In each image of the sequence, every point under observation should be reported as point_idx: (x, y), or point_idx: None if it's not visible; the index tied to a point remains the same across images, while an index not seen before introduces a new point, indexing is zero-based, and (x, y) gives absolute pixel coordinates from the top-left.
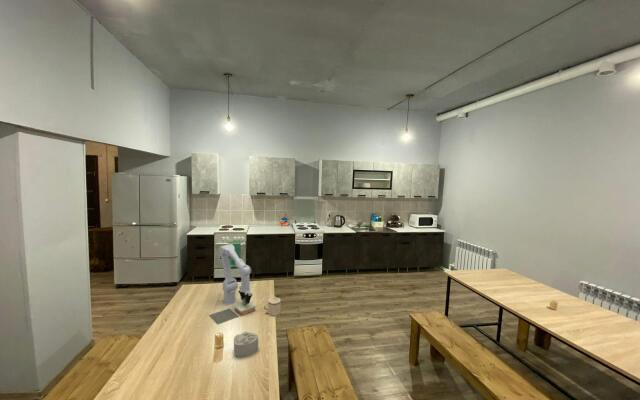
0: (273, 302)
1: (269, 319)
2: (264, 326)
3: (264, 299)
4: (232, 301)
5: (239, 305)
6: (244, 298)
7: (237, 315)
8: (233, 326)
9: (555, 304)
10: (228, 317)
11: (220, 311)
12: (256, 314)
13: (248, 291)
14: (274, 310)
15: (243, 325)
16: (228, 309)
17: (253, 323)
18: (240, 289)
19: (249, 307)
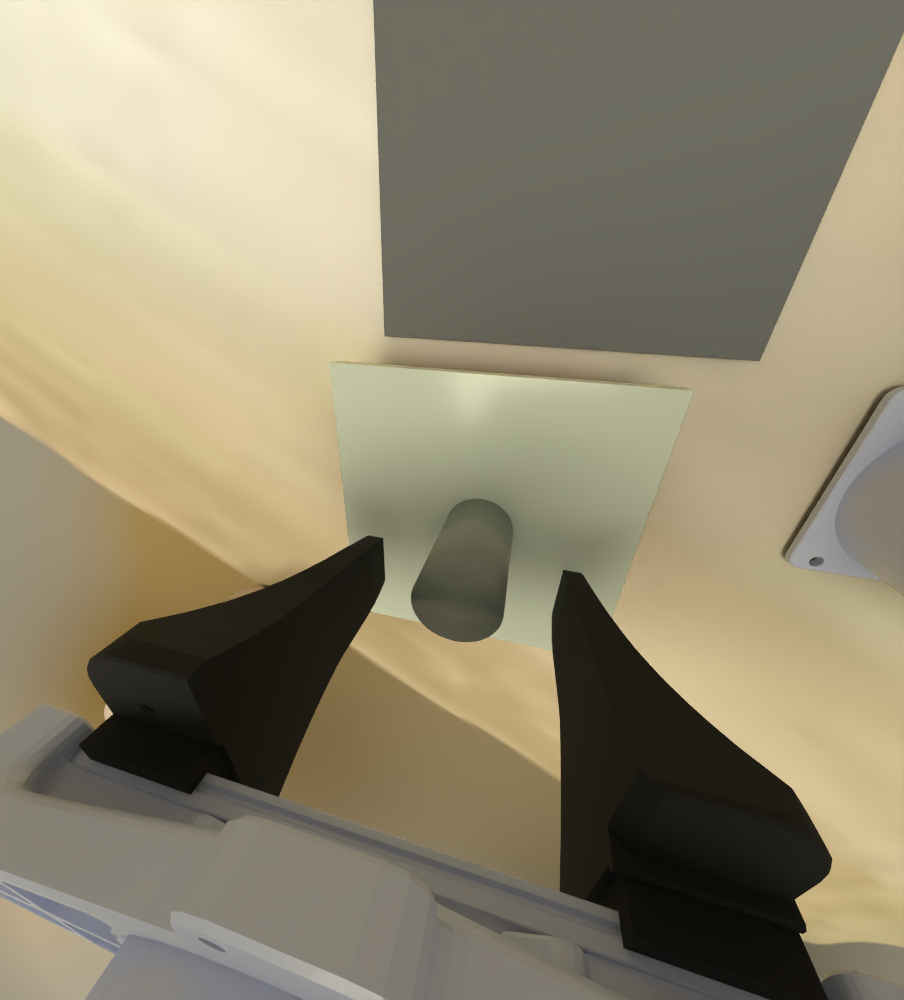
0: (110, 713)
1: (195, 537)
2: (101, 438)
3: (539, 731)
4: (882, 505)
5: (525, 461)
6: (473, 617)
7: (430, 334)
8: (195, 106)
9: None
10: (475, 155)
11: (861, 98)
12: (329, 521)
13: (55, 916)
14: None
15: (175, 267)
16: (738, 315)
17: (179, 392)
18: (807, 956)
19: (354, 525)
